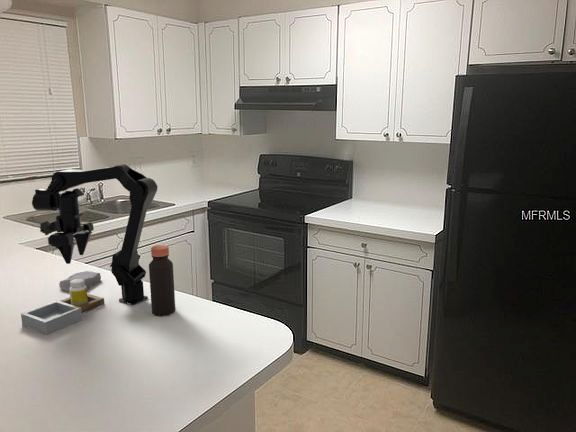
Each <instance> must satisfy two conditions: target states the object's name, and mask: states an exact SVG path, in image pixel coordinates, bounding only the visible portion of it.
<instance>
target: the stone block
mask: <svg viewBox="0 0 576 432" xmlns="http://www.w3.org/2000/svg"><path fill="white" fill-rule="evenodd" d="M101 278H102V275H101V273H100V272H95V271H89V270H86V271H85V270H84V271H79V272H77V273H74V274H72V275H70V276H69V277H67V278H65V279H63V280H61V281H59V288H60V290H61V291H65V292H70V287H71V286H70V281H71V280H74V279H84V281H85V286H86V288H87V289H89V288H91V287H93V286H94V285H96V284H98V283H99V282H100V281H101Z"/></svg>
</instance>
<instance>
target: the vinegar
mask: <svg viewBox="0 0 576 432" xmlns="http://www.w3.org/2000/svg"><path fill="white" fill-rule="evenodd" d="M169 248H170V247H169V246H168V245H165V244H158V245H154V246H151V248H150V252H151V254H150V255H151V258H152V260H151V261H150V262H149V264H148V272H149V289H150V291H149V292H150V305H151V314H152V315H153V316H156V317H167V316H170V315H171V316H172V315H173V314H174V313H175V312H176V296H175V280H174V278H175V277H174V263H173V261H172V260H170V259H169V256H170V255H169V254H170V249H169Z"/></svg>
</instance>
